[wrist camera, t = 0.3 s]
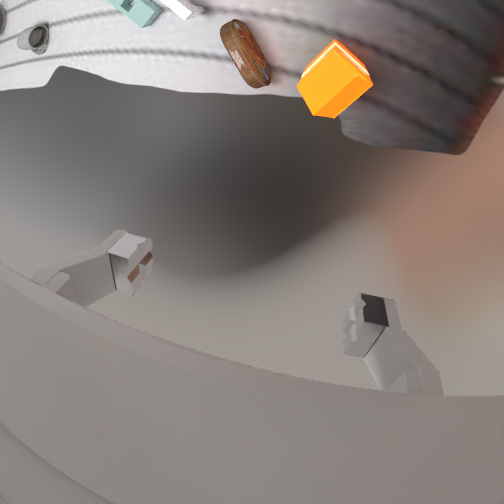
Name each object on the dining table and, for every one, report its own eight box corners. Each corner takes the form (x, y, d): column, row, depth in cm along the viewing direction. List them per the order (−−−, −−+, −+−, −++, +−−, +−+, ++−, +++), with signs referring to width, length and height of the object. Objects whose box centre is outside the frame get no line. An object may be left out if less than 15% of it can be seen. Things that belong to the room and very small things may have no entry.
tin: (275, 78, 49) (266, 90, 44) (261, 83, 51) (250, 95, 46) (242, 17, 40) (227, 20, 34) (228, 23, 41) (212, 27, 36)
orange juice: (365, 65, 41) (378, 96, 30) (335, 92, 48) (333, 134, 36) (334, 38, 39) (334, 54, 27) (305, 66, 45) (290, 98, 34)
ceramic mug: (33, 25, 39) (13, 34, 35) (48, 21, 39) (27, 29, 35) (35, 53, 48) (17, 64, 43) (50, 51, 48) (31, 62, 43)
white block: (175, -5, 37) (155, -3, 32) (181, -12, 35) (162, -10, 31) (201, 16, 40) (184, 19, 36) (207, 9, 39) (191, 12, 34)
